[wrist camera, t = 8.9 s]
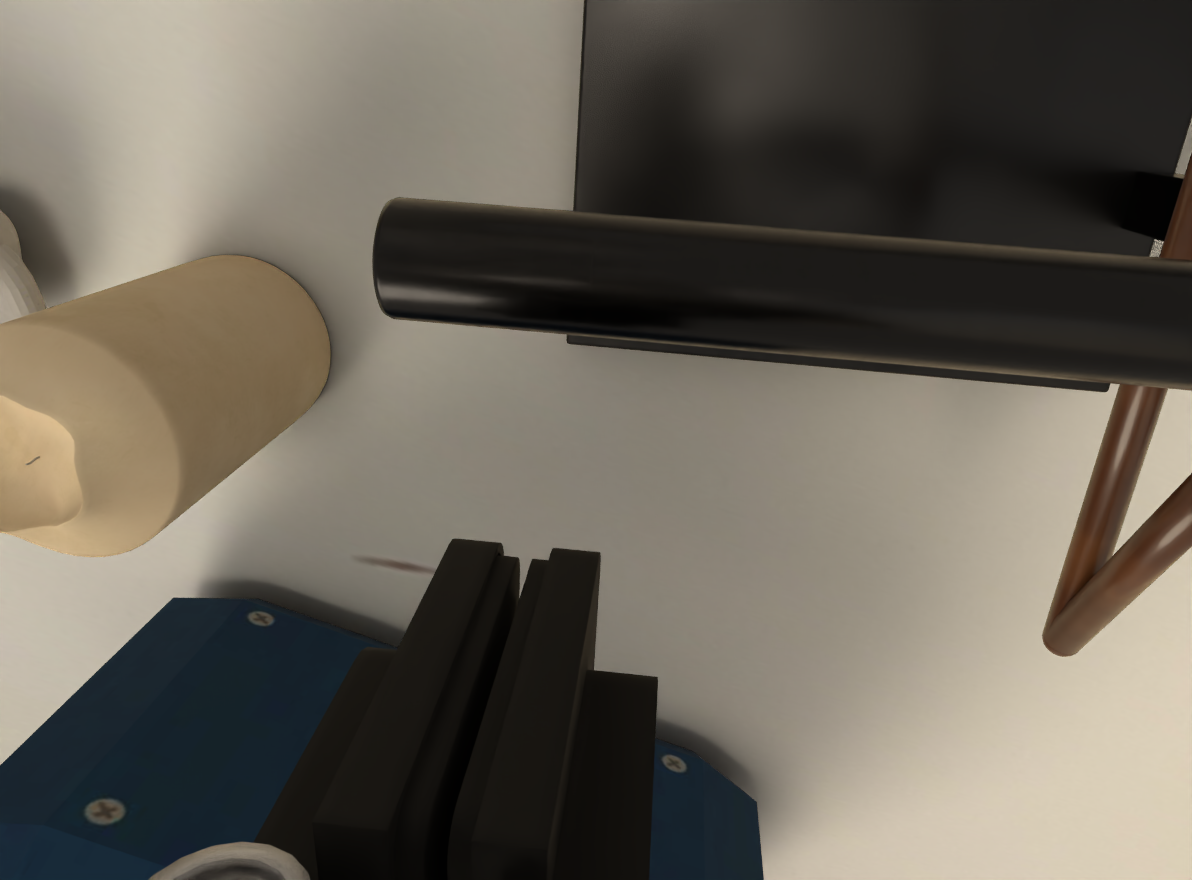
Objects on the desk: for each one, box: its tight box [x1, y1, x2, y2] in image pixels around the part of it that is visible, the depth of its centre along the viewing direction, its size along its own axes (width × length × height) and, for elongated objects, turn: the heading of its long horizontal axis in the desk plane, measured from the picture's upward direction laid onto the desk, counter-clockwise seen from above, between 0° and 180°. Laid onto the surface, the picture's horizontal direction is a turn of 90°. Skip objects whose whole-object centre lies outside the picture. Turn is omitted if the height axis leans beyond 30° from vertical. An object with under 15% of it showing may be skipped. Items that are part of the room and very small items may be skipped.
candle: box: [0, 255, 331, 557], centre depth 22 cm, size 6×6×10 cm
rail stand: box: [372, 0, 1192, 392], centre depth 15 cm, size 10×15×17 cm
